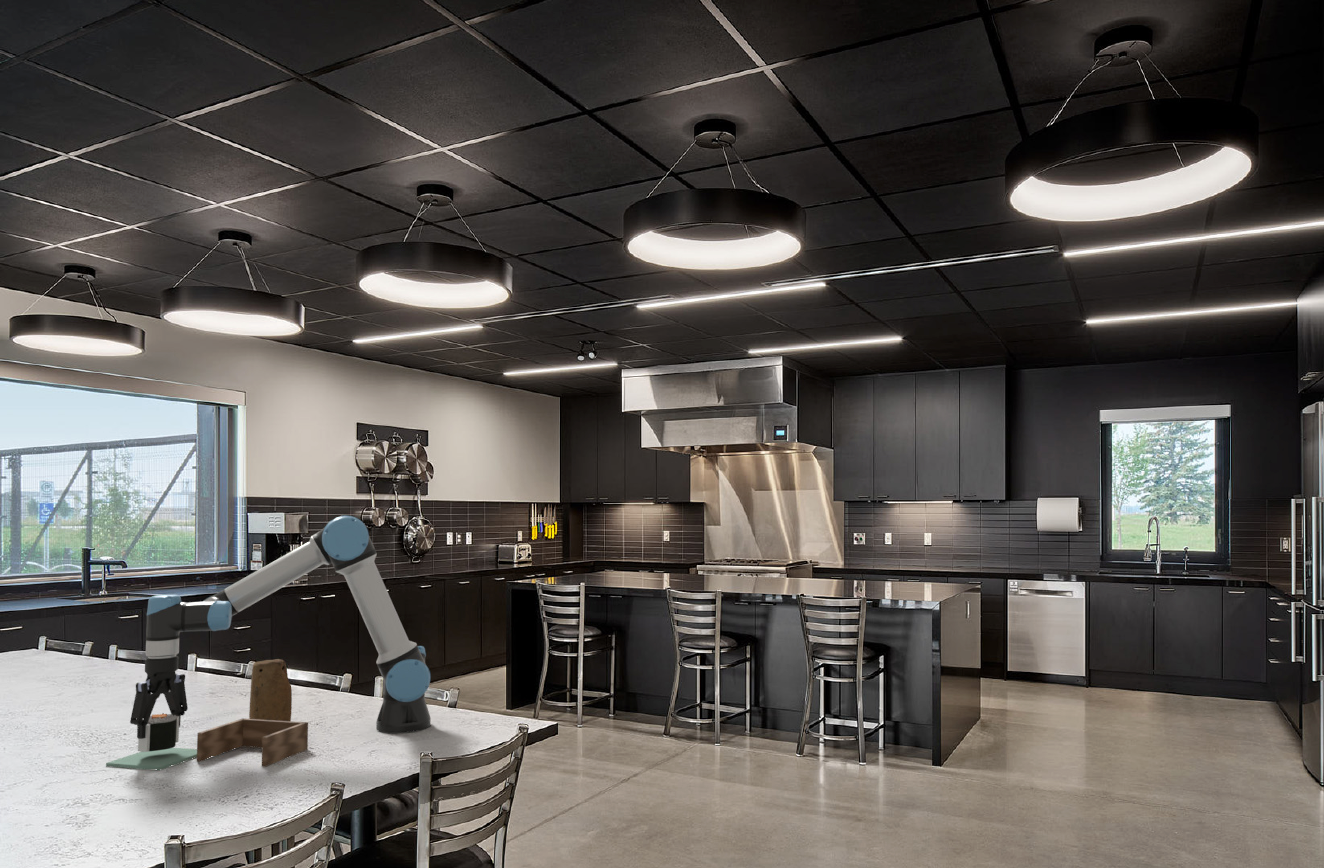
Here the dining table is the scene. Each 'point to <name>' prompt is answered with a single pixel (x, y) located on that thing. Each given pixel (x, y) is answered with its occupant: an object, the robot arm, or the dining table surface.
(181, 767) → the dining table surface
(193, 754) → the mat
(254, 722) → the frame
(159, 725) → the sushi
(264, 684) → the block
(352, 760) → the dining table surface
